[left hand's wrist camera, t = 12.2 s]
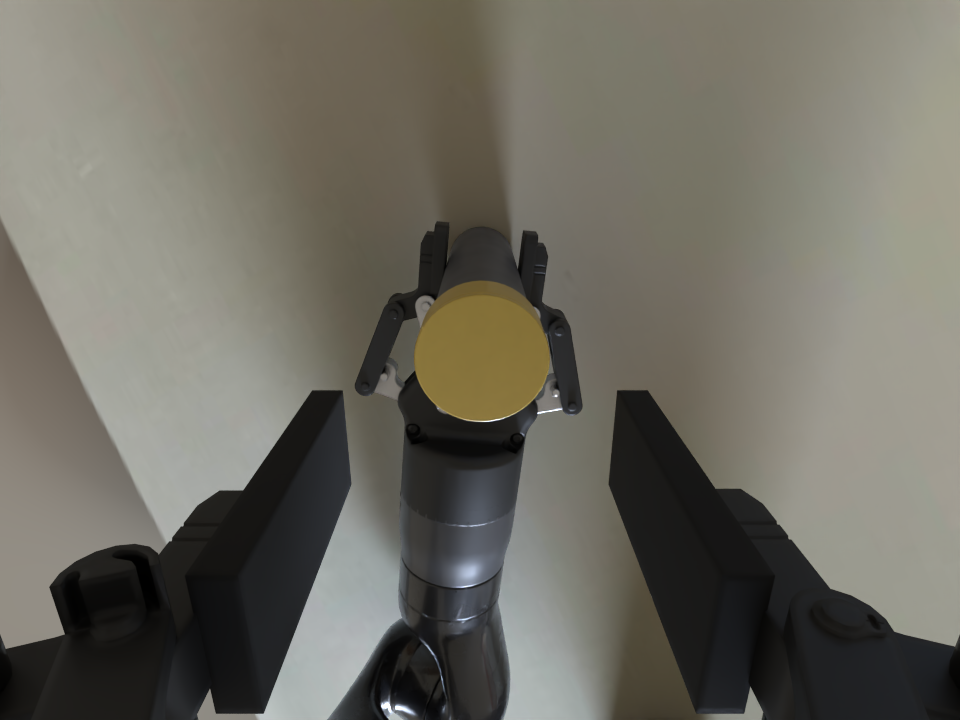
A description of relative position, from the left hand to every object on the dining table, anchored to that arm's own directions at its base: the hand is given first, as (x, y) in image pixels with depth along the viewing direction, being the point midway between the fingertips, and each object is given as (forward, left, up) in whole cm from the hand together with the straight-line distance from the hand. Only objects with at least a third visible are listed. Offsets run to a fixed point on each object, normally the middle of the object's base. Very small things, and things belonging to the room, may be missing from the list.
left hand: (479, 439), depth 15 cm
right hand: (-3, +1, -19) cm, 19 cm away
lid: (0, 0, -6) cm, 6 cm away
